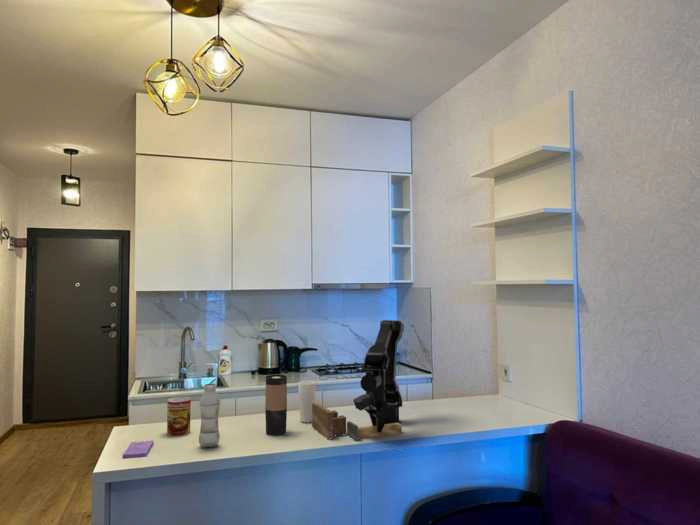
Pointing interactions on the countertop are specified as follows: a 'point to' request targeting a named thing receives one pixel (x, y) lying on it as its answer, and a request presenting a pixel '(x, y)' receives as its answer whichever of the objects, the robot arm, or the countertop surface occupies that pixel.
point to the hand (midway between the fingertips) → (377, 431)
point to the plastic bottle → (209, 417)
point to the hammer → (371, 430)
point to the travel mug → (276, 404)
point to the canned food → (178, 416)
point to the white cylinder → (306, 399)
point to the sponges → (138, 449)
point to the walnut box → (327, 421)
